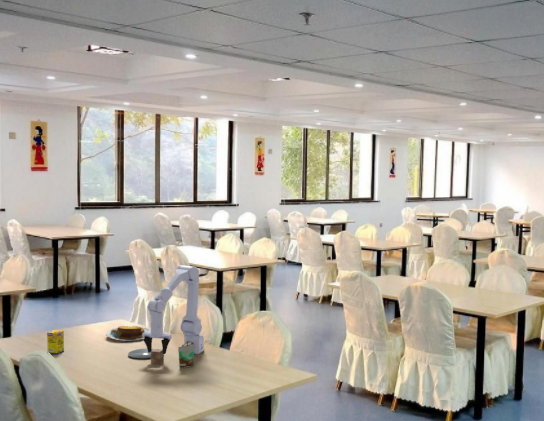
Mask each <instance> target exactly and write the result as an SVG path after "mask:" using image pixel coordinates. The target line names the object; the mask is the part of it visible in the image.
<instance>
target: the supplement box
mask: <svg viewBox="0 0 544 421" xmlns="http://www.w3.org/2000/svg"><path fill="white" fill-rule="evenodd" d="M64 333H65V331H64V330H61V329H60V330H58V329H53V330H50V331H47V333H46V336H47V338H46V339H47V341H46V342H47V348H46V349H47V353H48V352H49V353H51V354H50V355H57V356H58V355H60V354H61V353H64V352H65V338H64V335H65V334H64Z"/></svg>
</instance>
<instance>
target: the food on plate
mask: <svg viewBox="0 0 544 421" xmlns="http://www.w3.org/2000/svg"><path fill="white" fill-rule="evenodd" d="M142 333H151V329H149V328H147V327H142V326H139V325H138V326H136V325H133V326H128V325H127V326H125V325H121V326H118V327H115V328H112V329H110V330H108V331H107V332H106V334H105V335H106V337H107V338H108V339H109V340H110V339H111V340H116V341H117V340H118V341H122V342H123V341H124V342H132V341H139V340H143V339H144V337H142Z"/></svg>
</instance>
